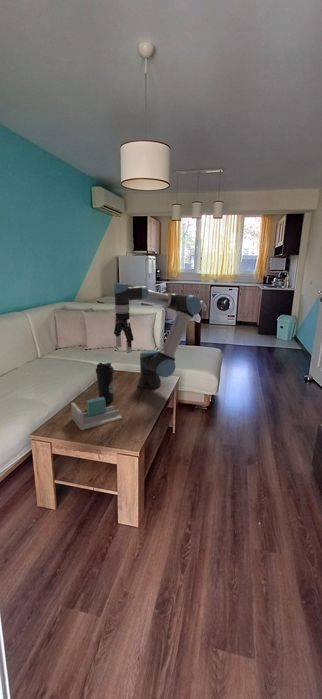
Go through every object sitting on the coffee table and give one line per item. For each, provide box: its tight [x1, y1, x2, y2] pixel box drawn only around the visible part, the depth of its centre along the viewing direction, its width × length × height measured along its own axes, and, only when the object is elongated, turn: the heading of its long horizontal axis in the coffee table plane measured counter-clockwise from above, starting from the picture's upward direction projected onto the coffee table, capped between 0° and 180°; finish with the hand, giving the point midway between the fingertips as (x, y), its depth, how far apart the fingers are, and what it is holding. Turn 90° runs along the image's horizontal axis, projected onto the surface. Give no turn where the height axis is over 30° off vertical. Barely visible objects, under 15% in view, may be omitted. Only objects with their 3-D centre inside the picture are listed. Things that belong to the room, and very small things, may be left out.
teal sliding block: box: [85, 397, 107, 417], centre depth 170 cm, size 9×4×10 cm, turn 121°
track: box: [70, 402, 123, 431], centre depth 171 cm, size 22×14×9 cm, turn 122°
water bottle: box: [95, 362, 115, 404], centre depth 191 cm, size 10×10×23 cm
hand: (123, 349), depth 184 cm, fingers open, 13 cm apart
